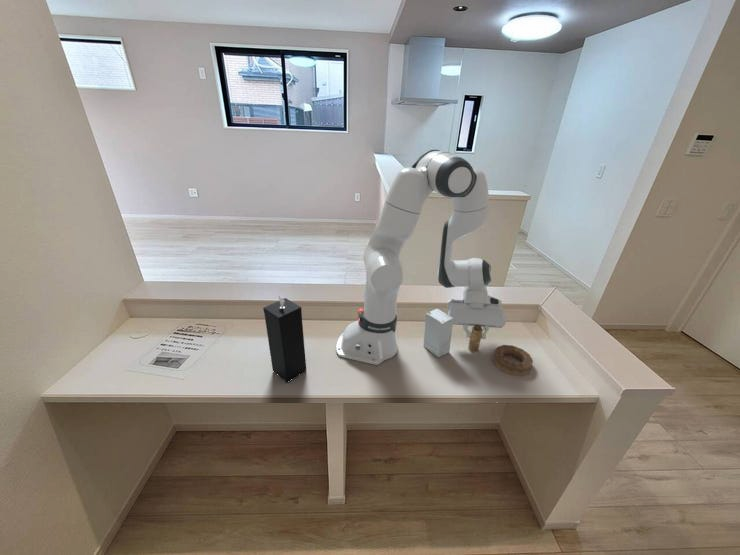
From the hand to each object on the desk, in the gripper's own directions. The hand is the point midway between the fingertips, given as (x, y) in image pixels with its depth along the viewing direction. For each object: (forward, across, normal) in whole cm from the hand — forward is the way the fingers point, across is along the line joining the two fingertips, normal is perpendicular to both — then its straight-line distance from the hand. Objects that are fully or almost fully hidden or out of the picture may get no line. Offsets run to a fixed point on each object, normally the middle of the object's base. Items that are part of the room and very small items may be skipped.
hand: (476, 338), depth 112 cm
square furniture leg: (+18, -63, -10) cm, 66 cm away
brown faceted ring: (+8, +12, 0) cm, 14 cm away
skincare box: (+5, -14, +3) cm, 15 cm away
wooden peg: (+3, 0, +4) cm, 5 cm away
